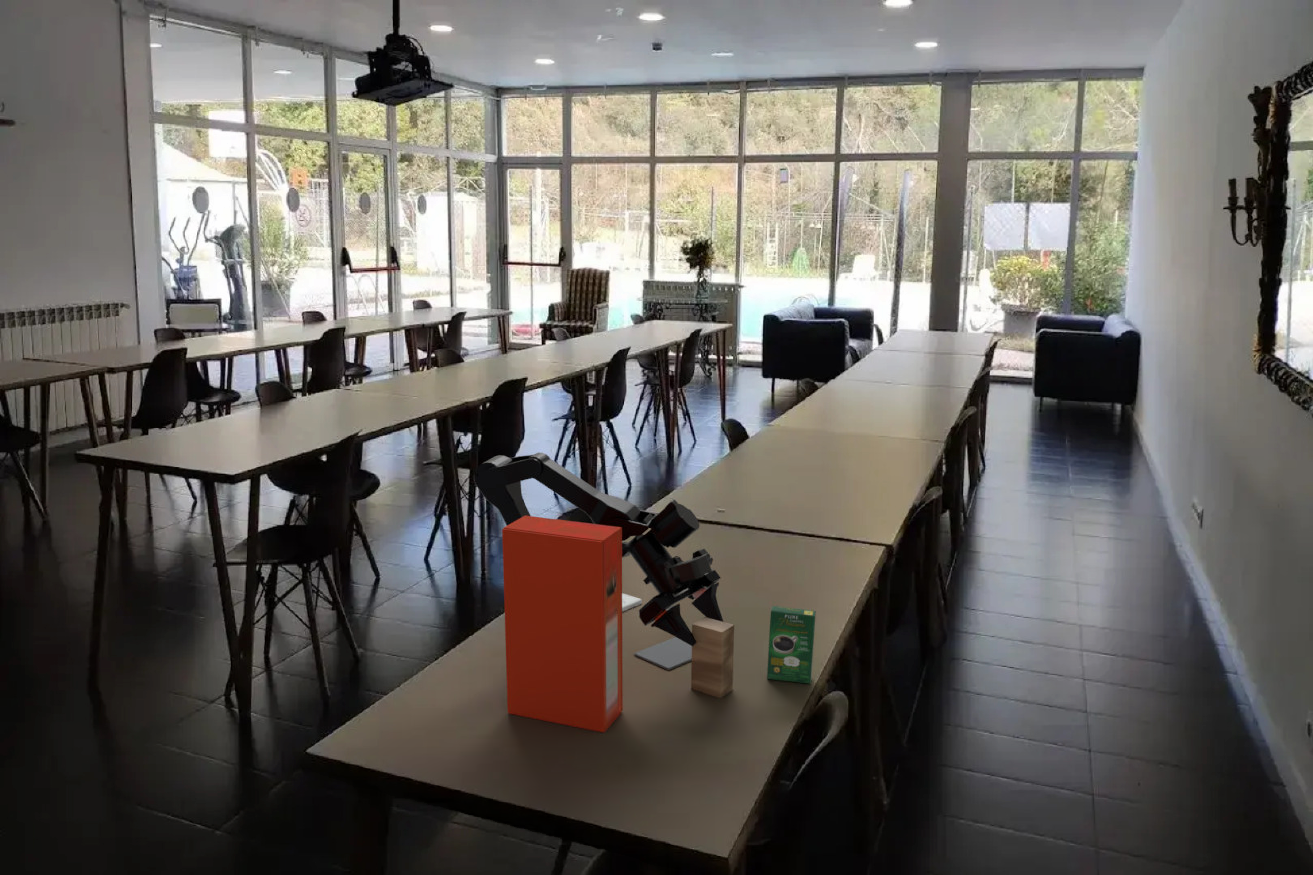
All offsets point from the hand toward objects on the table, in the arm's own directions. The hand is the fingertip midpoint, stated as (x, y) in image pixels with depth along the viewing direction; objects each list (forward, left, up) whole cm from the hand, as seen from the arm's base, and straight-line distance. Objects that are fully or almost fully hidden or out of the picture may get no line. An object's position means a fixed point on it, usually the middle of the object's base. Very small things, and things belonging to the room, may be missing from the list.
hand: (708, 635), depth 177 cm
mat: (+5, +13, -9) cm, 17 cm away
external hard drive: (+12, +39, -10) cm, 42 cm away
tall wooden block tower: (-1, -2, -9) cm, 9 cm away
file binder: (-25, +9, -9) cm, 28 cm away
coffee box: (+12, -9, -9) cm, 18 cm away
